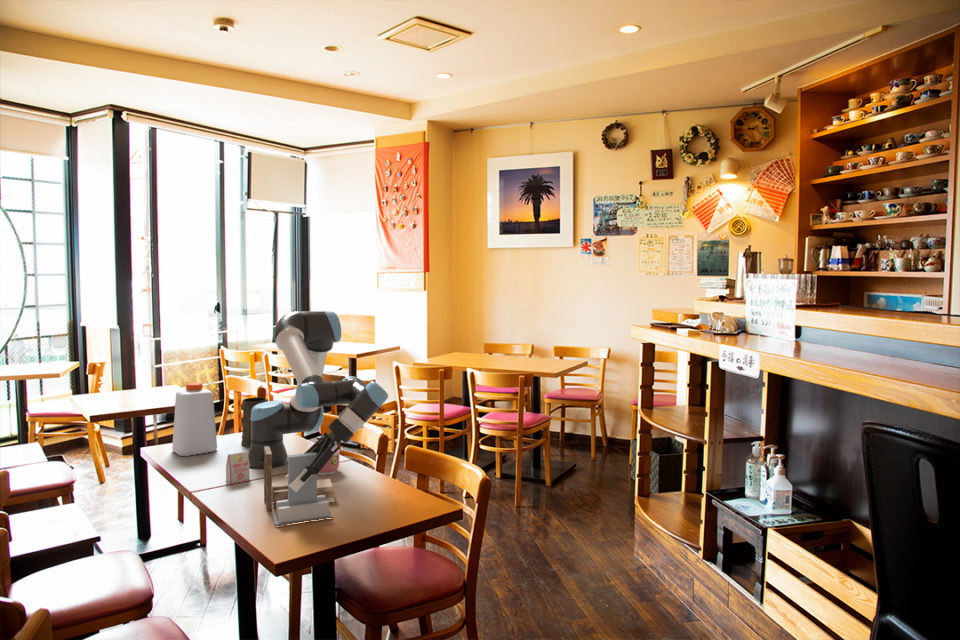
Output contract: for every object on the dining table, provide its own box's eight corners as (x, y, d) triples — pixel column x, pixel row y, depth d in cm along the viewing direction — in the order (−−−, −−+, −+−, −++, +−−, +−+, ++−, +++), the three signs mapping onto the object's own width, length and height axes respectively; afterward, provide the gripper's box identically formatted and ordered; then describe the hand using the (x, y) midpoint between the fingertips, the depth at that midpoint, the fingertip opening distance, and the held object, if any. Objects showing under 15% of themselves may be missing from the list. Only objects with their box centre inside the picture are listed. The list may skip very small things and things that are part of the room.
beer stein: (237, 442, 254) (237, 397, 252) (261, 438, 261) (262, 395, 258) (249, 452, 242) (249, 406, 240) (274, 448, 249) (275, 403, 247)
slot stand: (327, 508, 179) (327, 493, 179) (332, 519, 171) (332, 503, 171) (272, 516, 172) (272, 500, 172) (275, 527, 164) (275, 510, 164)
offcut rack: (330, 492, 194) (330, 440, 193) (335, 502, 184) (335, 447, 184) (264, 500, 185) (263, 446, 184) (266, 511, 176) (266, 454, 175)
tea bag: (226, 481, 202) (225, 453, 202) (245, 477, 207) (245, 450, 206) (229, 484, 200) (229, 455, 199) (249, 480, 204) (249, 452, 204)
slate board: (315, 511, 174) (315, 452, 173) (317, 514, 172) (317, 454, 171) (287, 515, 171) (287, 455, 170) (288, 518, 169) (288, 457, 168)
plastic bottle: (208, 444, 250) (208, 379, 249) (220, 451, 239) (219, 384, 238) (169, 450, 240) (169, 383, 239) (180, 458, 229) (179, 388, 228)
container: (311, 477, 208) (311, 455, 208) (310, 469, 218) (310, 448, 218) (341, 475, 212) (341, 453, 211) (338, 466, 222) (338, 446, 221)
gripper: (362, 441, 167) (305, 504, 161) (347, 425, 186) (295, 481, 180) (344, 425, 165) (285, 487, 159) (330, 410, 184) (277, 466, 178)
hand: (290, 484), depth 170 cm, fingers open, 8 cm apart
